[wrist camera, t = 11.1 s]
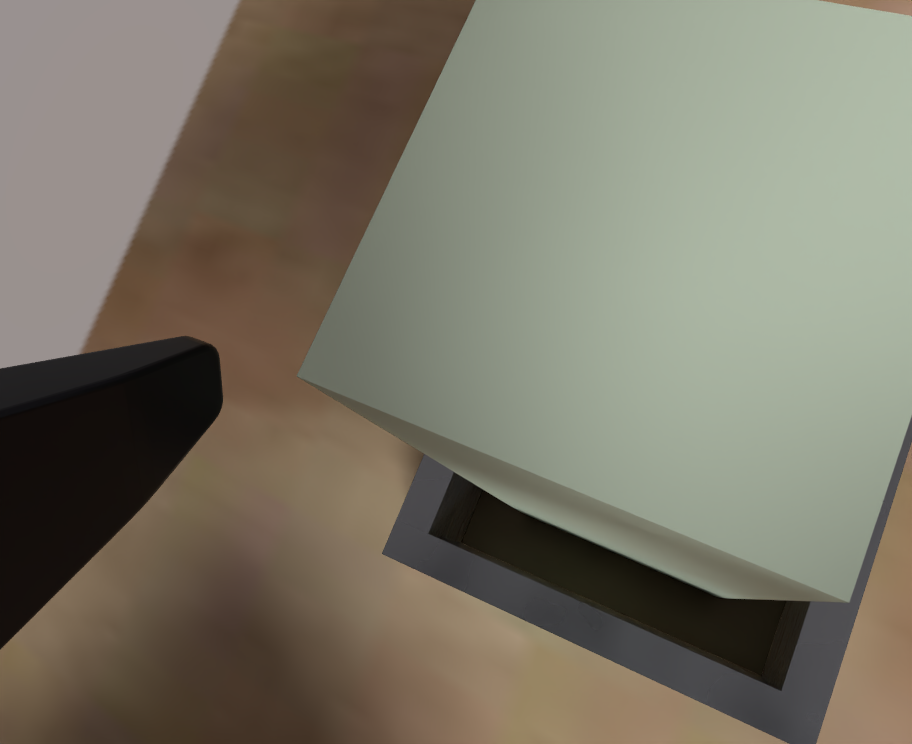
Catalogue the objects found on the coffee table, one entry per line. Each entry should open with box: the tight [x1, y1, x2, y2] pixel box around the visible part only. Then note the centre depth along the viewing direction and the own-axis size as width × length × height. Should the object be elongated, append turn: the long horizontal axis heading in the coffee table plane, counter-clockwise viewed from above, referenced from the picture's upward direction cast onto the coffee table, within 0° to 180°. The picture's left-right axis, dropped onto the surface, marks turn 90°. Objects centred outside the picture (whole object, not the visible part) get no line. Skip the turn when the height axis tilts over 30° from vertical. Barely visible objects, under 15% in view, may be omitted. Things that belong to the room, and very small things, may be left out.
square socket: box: [382, 416, 912, 744], centre depth 18 cm, size 9×9×3 cm
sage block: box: [297, 0, 912, 603], centre depth 13 cm, size 5×5×13 cm
